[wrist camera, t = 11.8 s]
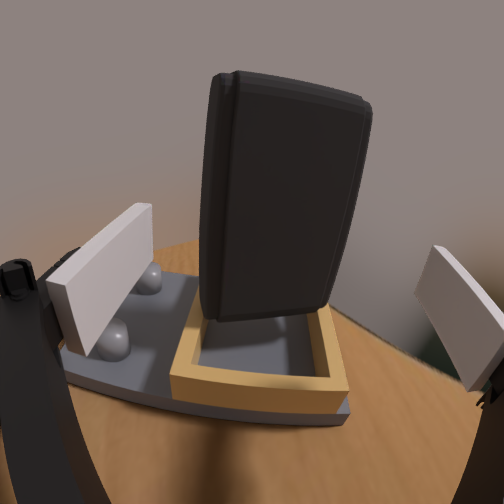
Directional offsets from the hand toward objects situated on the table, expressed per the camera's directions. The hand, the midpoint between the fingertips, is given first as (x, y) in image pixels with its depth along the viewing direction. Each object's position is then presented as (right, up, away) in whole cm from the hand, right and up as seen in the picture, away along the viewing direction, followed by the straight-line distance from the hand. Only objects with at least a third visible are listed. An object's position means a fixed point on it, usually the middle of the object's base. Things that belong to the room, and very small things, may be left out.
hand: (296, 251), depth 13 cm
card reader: (-1, -4, +8) cm, 10 cm away
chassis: (-6, -7, +10) cm, 13 cm away
